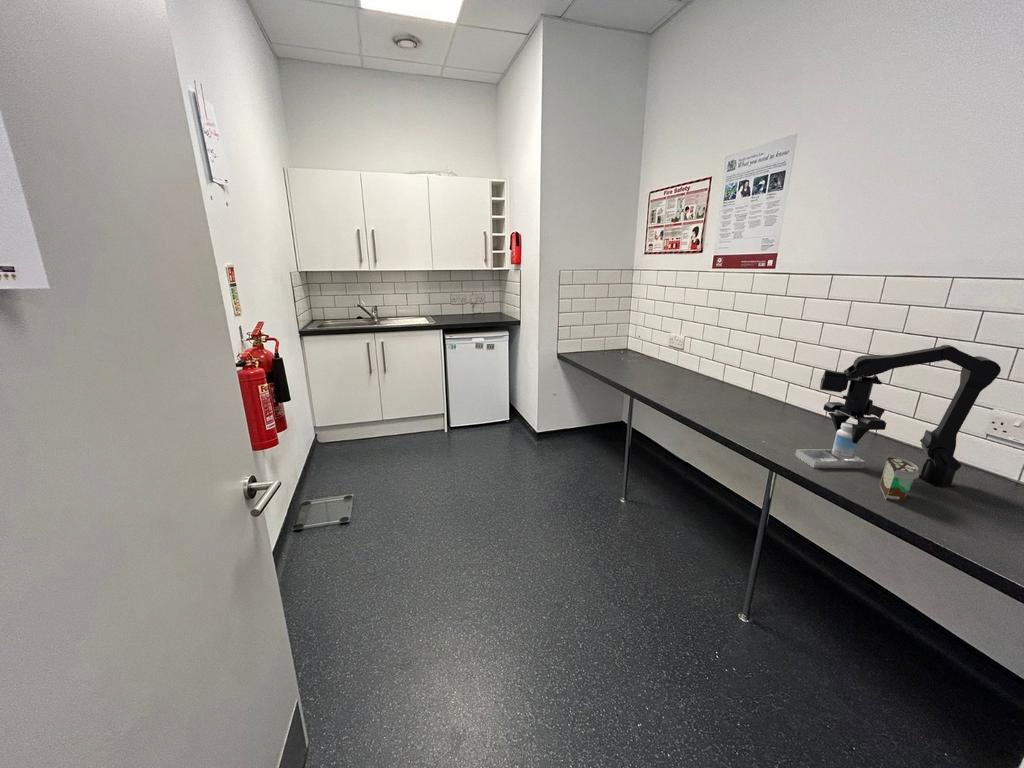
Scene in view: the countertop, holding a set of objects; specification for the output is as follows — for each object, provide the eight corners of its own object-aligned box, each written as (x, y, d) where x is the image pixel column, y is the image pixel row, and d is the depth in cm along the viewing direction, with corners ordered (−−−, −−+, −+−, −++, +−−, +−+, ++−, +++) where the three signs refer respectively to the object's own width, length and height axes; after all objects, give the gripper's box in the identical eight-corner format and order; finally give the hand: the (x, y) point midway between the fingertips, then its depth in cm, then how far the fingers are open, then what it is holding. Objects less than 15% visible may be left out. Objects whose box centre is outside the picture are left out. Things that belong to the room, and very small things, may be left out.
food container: (915, 509, 114) (926, 476, 112) (886, 502, 118) (896, 470, 115) (905, 489, 124) (914, 459, 122) (878, 483, 128) (887, 454, 125)
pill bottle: (857, 460, 137) (866, 429, 134) (837, 458, 138) (845, 427, 135) (847, 452, 143) (855, 422, 139) (827, 451, 144) (835, 420, 141)
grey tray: (863, 468, 137) (865, 461, 136) (813, 468, 136) (815, 461, 136) (842, 455, 146) (844, 449, 145) (795, 455, 145) (796, 449, 144)
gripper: (909, 404, 125) (895, 451, 130) (858, 386, 143) (848, 428, 148) (873, 404, 125) (861, 451, 130) (827, 386, 143) (817, 428, 147)
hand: (846, 439), depth 139 cm, fingers closed on pill bottle, 6 cm apart
